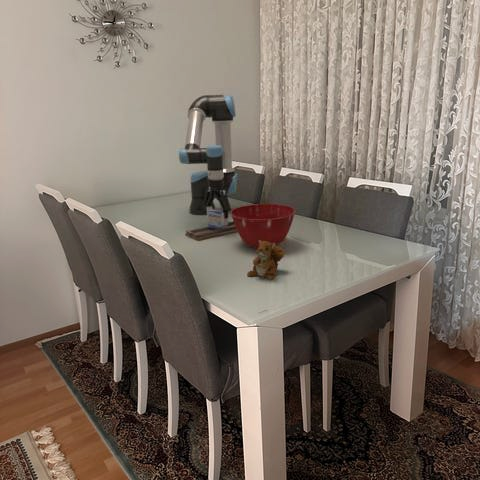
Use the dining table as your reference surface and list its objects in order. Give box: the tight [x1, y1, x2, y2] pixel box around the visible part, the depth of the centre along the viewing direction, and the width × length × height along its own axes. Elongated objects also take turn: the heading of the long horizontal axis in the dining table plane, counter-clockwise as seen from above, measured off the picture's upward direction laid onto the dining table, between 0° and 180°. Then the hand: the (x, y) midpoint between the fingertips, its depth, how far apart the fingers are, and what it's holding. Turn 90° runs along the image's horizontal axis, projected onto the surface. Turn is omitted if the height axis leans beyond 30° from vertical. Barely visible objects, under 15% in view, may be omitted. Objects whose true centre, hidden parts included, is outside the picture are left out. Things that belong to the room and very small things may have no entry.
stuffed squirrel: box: [246, 240, 285, 281], centre depth 167 cm, size 10×14×13 cm
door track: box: [184, 220, 238, 242], centre depth 223 cm, size 12×30×2 cm, turn 126°
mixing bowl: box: [230, 203, 296, 249], centre depth 201 cm, size 28×28×16 cm
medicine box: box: [208, 208, 227, 229], centre depth 221 cm, size 8×4×9 cm, turn 62°
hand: (217, 222), depth 222 cm, fingers open, 13 cm apart
